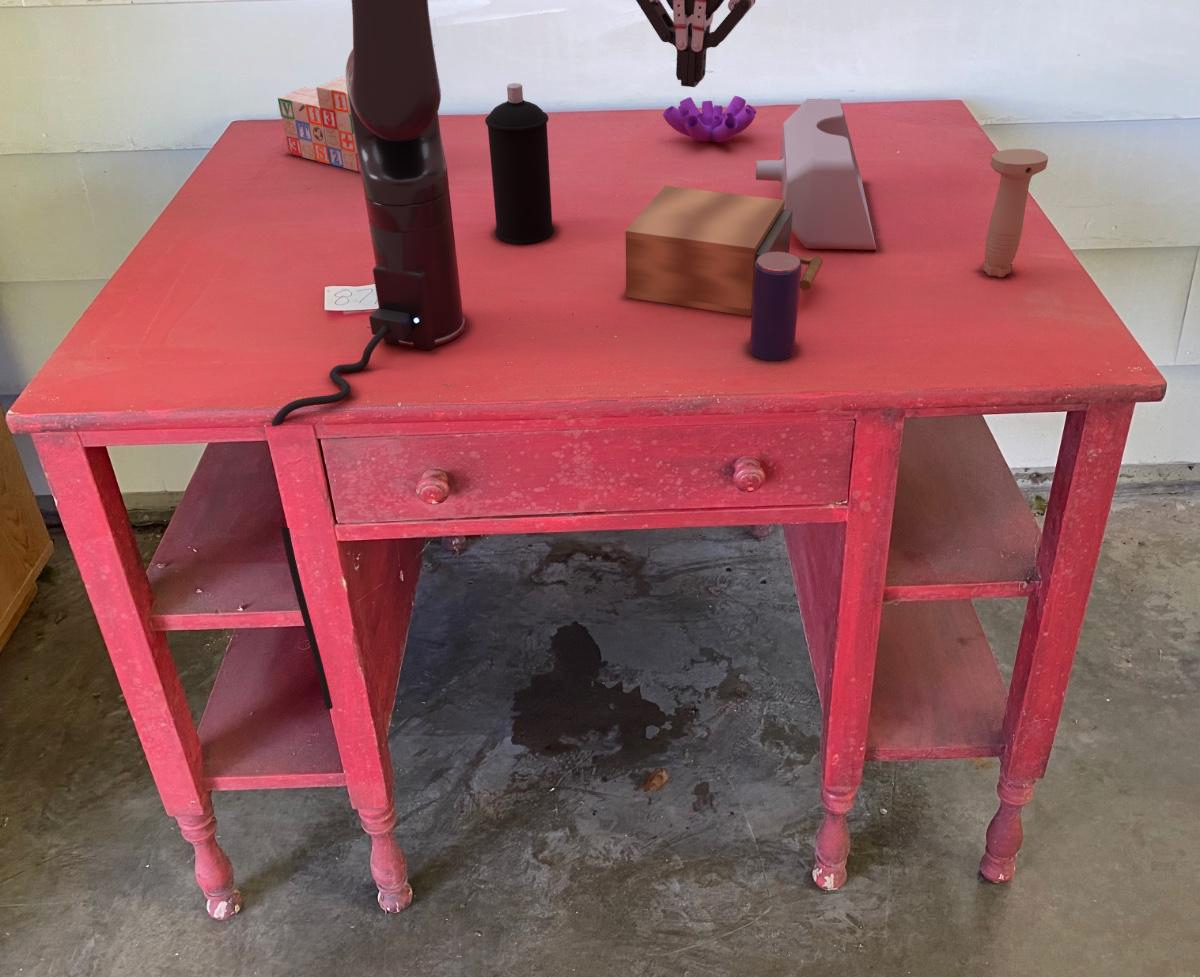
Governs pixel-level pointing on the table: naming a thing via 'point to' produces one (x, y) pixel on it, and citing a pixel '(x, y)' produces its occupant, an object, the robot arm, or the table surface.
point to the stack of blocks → (320, 124)
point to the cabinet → (698, 248)
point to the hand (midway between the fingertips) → (690, 84)
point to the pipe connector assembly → (710, 119)
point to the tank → (821, 179)
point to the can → (775, 305)
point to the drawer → (788, 247)
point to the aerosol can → (520, 170)
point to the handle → (1009, 206)
